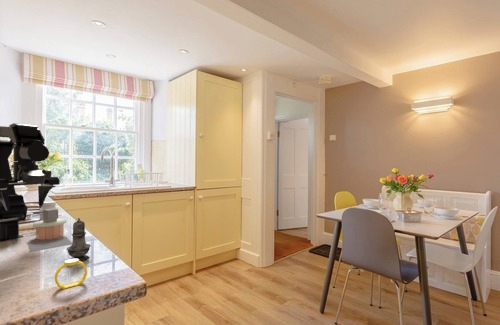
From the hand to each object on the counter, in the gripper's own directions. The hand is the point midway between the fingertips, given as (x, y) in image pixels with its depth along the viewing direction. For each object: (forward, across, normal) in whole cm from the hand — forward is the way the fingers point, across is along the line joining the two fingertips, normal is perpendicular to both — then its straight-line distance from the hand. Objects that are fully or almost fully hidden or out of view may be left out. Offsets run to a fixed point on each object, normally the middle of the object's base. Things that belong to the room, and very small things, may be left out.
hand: (24, 208), depth 88 cm
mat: (+12, +4, -7) cm, 15 cm away
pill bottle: (+13, +16, +18) cm, 27 cm away
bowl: (+12, +9, +3) cm, 16 cm away
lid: (+8, +9, +3) cm, 12 cm away
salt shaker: (+13, 0, -29) cm, 32 cm away
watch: (+13, -10, -44) cm, 47 cm away
